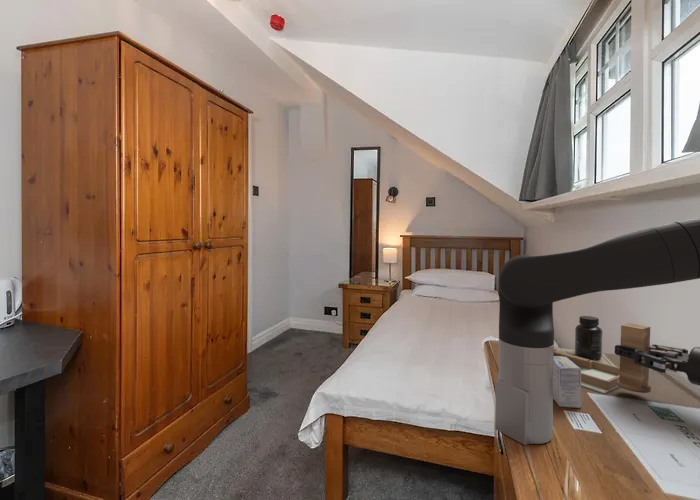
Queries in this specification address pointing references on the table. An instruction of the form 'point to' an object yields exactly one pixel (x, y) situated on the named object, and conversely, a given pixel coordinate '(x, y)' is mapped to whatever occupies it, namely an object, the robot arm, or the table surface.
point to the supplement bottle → (588, 338)
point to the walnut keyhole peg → (630, 372)
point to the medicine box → (566, 383)
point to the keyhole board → (594, 373)
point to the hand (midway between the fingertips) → (620, 347)
